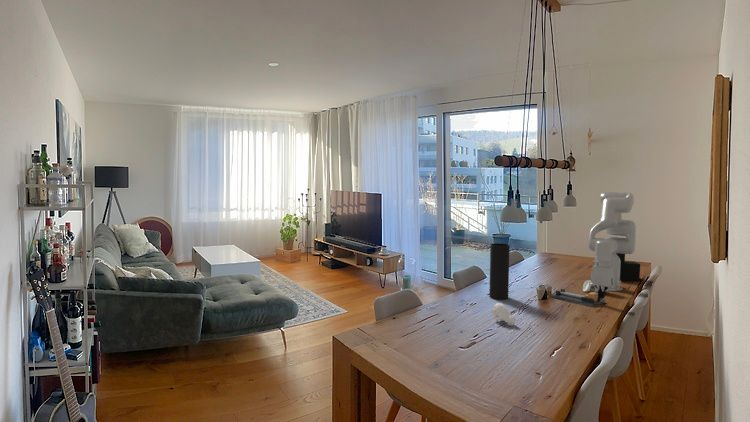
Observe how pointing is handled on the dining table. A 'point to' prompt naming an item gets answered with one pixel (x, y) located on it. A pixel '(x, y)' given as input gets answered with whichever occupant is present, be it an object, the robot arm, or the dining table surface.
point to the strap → (571, 294)
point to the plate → (577, 299)
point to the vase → (499, 271)
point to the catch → (592, 295)
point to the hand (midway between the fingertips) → (601, 298)
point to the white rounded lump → (502, 314)
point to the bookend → (629, 269)
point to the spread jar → (590, 287)
